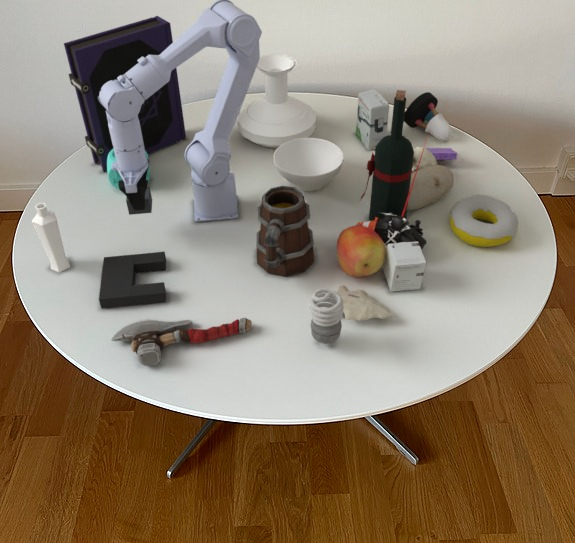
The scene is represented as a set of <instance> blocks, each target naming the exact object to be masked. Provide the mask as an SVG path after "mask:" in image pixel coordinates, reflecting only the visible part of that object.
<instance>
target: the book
mask: <svg viewBox="0 0 575 543" xmlns="http://www.w3.org/2000/svg"><path fill="white" fill-rule="evenodd" d="M171 26H172V25H171V22H169V21H167V20H166V19H164V18H162V17H161V16H158V15H155V16H153V17H148V18H145V19H142V20H138V21H135V22H132V23H128V24H125V25H121V26H118V27H115V28H111V29H107V30H104V31H101V32H98V33H94V34H90V35H87V36H84V37H81V38H78V39H73V40H70V41H67V42H64V43H63V46H64V50H65V54H66V58H67V62H68V65H69V69H70V73H68V77H69V81H70V85H71V86H72V87H74V89H75V93H76V98H77V101H78V104H79V108H80V113H81V116H82V117H81V118H82V120H83V124H84V128H85V132H86V136H84V139H85V143H86V146H87V147H88V148H89V149H90V152H91V156H92V159H93V162H94V163H93V164H95V165H97V164H100V165H101V169H102V173H105V172H107V158H108V154H109V152H110V151H111V150H112V149H113V144H112V140H111V136H110V131H109V127H108V120H107V115H106V108H105V107H103V106H102V105H101V103H100V102H99V100H98V96H99V93H100V91H101V88H102V86H103V85H104V84H105V83H107V82H108V81H111V80H112V81H114V80H118V79H117V77H119V76H120V75H125V73H126V72H128V71H129V70H130V69H131V68H133V67H134V66H135V65H136V64H138V63H139V62H138V61H137V60H138V59H139V58H141V57H142V56H143V57H144V58H145V57H147V56H148V55H160V54H161V53H162V52H163V51H164V50H165V49H166V48H168V47H169V46H170V45H171V44H172V43H173V42H174V41H173V40H174V39H173V34H172V33H173V32H172V27H171ZM177 68H178V67H176V68H175V69H173V70H172V71H171V75H170V80H169V82H168V83H166V84H165V85H164V86H163V87H161V88H160V89H159V90H158V91H156V92H155V93H154V94H153V95H151V96H150V97H149V98H147V99H146V100H145V101H144V103H143V104H142V105H141V109H140V112H139V114H138V119H139V122H140V127H141V133H142V138H143V143H144V148H145V151H146V152H147V154H148V155H149V154H152V153H155V152H157V151H160V150H162V149H165V148H167V147H170V146H172V145H175V144H177V143H180V142H182V141H185V140H187V134H186V128H185V119H184V111H183V105H182V98H181V91H180V83H179V76H178V69H177Z"/></svg>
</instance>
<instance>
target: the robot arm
mask: <svg viewBox="0 0 575 543" xmlns="http://www.w3.org/2000/svg"><path fill="white" fill-rule="evenodd" d="M262 33H263V31H262V29H261V27H260V25H259V24H258V22H257V20H256V18H254V16H252V15H251V14H249V13H247V12H245V11H244V10H242V9H241V8H240V7H239V6H237V5H235V4H234V2H232V1H231V0H215V1H213V3H212V4H211V5H210V6H209V7H207V8H205V9H203V10H202V11H201V13H200V14H199V16H198V18H197V20H196V21H195V22H194V23H193V24H191V25H190V26H189V27H188V28H187V29H186V30H185V31H184V32H182V34H180V35H179V36H178V37H177V38H176V39H175V40H174V41H173V43H172V44H171V45H170V46H169V47H168V48H166V49H165V50H164V51H163V52H162V53H161V54H160V55H148V56H147V57H145V58H144V57H143V56H142V57H141V58H139V59H138V60H137V61H138V62H139V63H138V64H136V65H135V66H134V67H133V68H131V69H130V70H129V71H128V72H126V73H125V75H120V76H119V77H117V79H118V80H114V81H112V80H111V81H108V82H107V83H105V84H104V85H103V86H102V88H101V91H100V93H99V96H98V100H99V102H100V103H101V105H102V106H103V107H105V108H106V115H107V120H108V127H109V131H110V136H111V140H112V144H113V149H114V153H115V157H116V162H113V163H112V165H111V168H112V170H117V171H118V172H119V174H120V176H121V177H122V179H123V180H119V183H118V186H119V189H120V190H119V191H120V192H122V193H123V195H124V196H125V197H127V198H128V200H129V201H130V203H131V205H132V207H133V209H134V210H144V209H145V192H146V189H147V186H149V182H148V180H146V175H147V171H148V168H149V165H150V163H151V162H150V158H149V159H147V158H146V154H145V148H144V143H143V138H142V133H141V127H140V122H139V119H138V114H139V112H140V109H141V105H142V104H143V103H144V101H145V100H146V99H147V98H149V97H150V96H151V95H153V94H154V93H155V92H156V91H158V90H159V89H160V88H161V87H163V86H164V85H165V84H166V83H168V82H169V80H170V75H171V71H172V70H173V69H175V68H178V67H179V66H181V65H182V64H184V63H185V62H186V61H188V60H189V59H191V58H192V57H194V56H196V54H198V53H200V52H201V51H203V50H204V49H205V48H207V47H208V48H215V49H225V50H226V52H227V54H228V55H229V58H228V61H227V63H226V67H225V68H224V72H223V74H222V77H221V80H220V83H219V86H218V89H217V91H216V93H215V97H214V100H213V102H212V105H211V108H210V110H209V114H208V116H207V119H206V122H205V125H204V128H203V129H202V130H199V131H197V132H196V133H195V134H194V137H193V139H192V140H191V142H190V143H189V144H188V145H187V146H186V148H185V150H184V155H183V156H184V160H185V162H186V163H187V164H188V165H189V166H190V167H191V173H190V178H191V185H192V190H193V191H192V192H193V198H194V199H193V217H194V222H195V223H201V222H202V223H203V222H213V221H224V220H235V219H238V218H239V210H238V204H239V196H238V195H237V187H236V177H235V172H230V169H231V168H230V161H231V159H232V150H231V146H230V138H231V134H232V133H233V130H234V127H235V125H236V122H237V121H238V116H239V112H240V111H241V110H242V107H243V103H244V101H245V99H246V96H247V94H248V91H249V88H250V85H251V83H252V80H253V78H254V75H255V73H256V70H257V69H256V67H257V64H258V62H259V58H260V57H261V50H260V39H261V37H262Z"/></svg>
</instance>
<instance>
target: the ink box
mask: <svg viewBox="0 0 575 543" xmlns="http://www.w3.org/2000/svg"><path fill="white" fill-rule="evenodd" d="M389 112H390V103H389V102H388V101H387V100H386V98H384V96H383V95H382V94H381V93H380V91H379V90H378V89H376V88H374V89H368V90H364V91H360V92H358V94H357V111H356V123H355V124H356V125H355V126H356V127H355V135H356V136H357V137H358V138H359V140H360V141H361V142H362V144H363V145H364V146H365V148H366V149H367V150H368V151H370V150H375V147H376V146H377V144H378V143H379V141H380V140H381V139H382V138H383V137H385V136H388V135H387V133H388V124H389V123H388V122H389V114H390V113H389Z"/></svg>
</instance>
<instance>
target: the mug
mask: <svg viewBox="0 0 575 543" xmlns="http://www.w3.org/2000/svg"><path fill="white" fill-rule="evenodd" d="M310 219H311V210H310V204H309V203H307V202H306V199H305V195H304V193H303V192H302V191H301V190H300V189H298V188H296V187H295V186H288V185H278V186H274V187H271V188H269V189H268V190H267V191H266V192H264V193H263V195H262V197H261V203H260V204H259V205H258V206H257V221H258V222H259V223H260V228H259V230H258V231H257V232H256V237H255V238H256V239H255V240H256V241H255V243H256V264H257V265H258V266H259V267H261V269H263V270H264V271H265V272H266V273H267V274H270V275H275V276H282V277H286V278H287V277H289V276H294V275H299V274H301V273H302V274H303V273H304V272H306V271H307V270H308V269H309V268H310V266H311V265H313V263H314V262H315V249H314V245H315V244H314V232H313V229H311V228H310V227H309V222H308V221H309V220H310Z"/></svg>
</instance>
